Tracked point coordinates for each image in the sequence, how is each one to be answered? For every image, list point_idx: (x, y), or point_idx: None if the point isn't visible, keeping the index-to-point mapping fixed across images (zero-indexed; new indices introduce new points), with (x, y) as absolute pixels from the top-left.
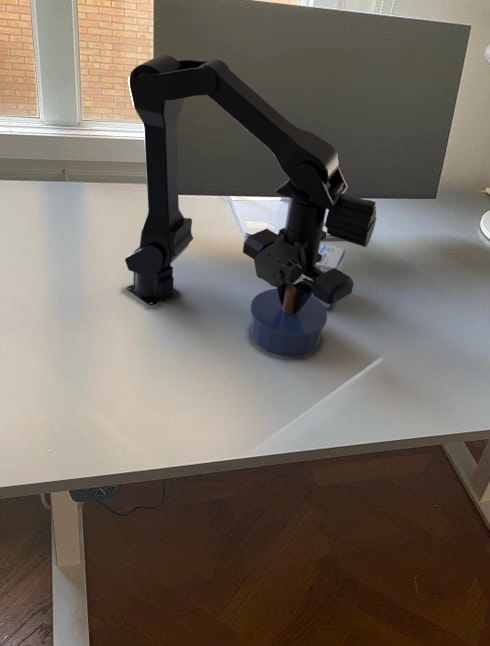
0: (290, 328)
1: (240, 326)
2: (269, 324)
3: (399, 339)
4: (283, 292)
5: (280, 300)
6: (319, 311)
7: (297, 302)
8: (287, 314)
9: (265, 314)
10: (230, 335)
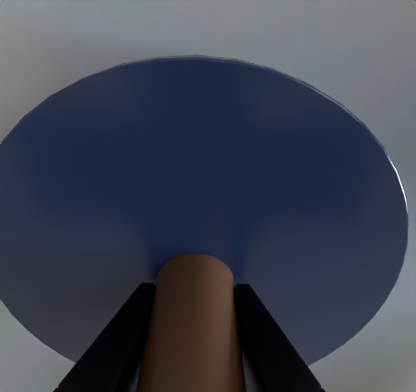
0: (61, 175)
1: (360, 117)
2: (171, 99)
3: (12, 377)
4: (254, 371)
5: (256, 303)
6: None
7: (90, 364)
8: (177, 253)
9: (265, 164)
10: (366, 33)
